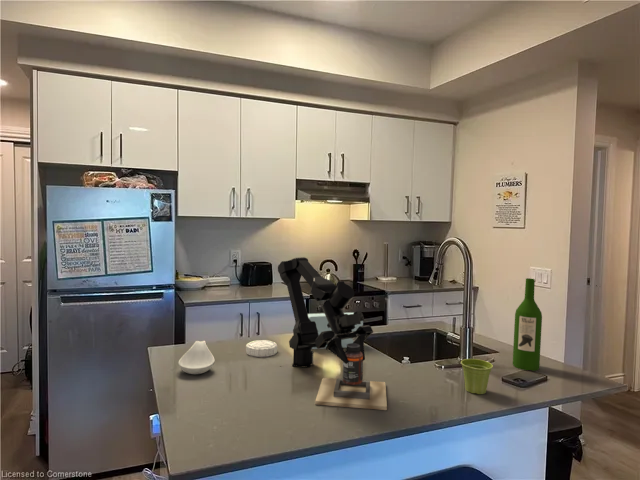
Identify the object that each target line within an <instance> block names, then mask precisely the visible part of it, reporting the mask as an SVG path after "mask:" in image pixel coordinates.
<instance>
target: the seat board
mask: <svg viewBox="0 0 640 480" xmlns="http://www.w3.org/2000/svg"><path fill="white" fill-rule="evenodd" d="M387 400H388V399H387V388H386V382H385V381H375V380H374V381H373V380H365V379H364V380H362V383H361V384H358V385H349V384H346V383H344V382H343V378H331V377H322V379H321V382H320V385H319V387H318V392H317V394H316V398H315V402H314V403H315V405H317V406H318V405H319V406H332V407H342V408H343V407H345V408H356V409H369V410H381V411H387V410H388V405H387V404H388V403H387Z"/></svg>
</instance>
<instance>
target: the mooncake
mask: <svg viewBox="0 0 640 480" xmlns="http://www.w3.org/2000/svg"><path fill="white" fill-rule="evenodd" d="M245 353H246V354H247V355H249V356H251V357H256V358H257V357H258V358H259V357H269V356H270V357H271V356H274V355H276V354H277V353H278V344H277V343H276V342H274V341H271V340H270V339H269V340H268V339H262V340H261V339H260V340H259V339H258V340H257V339H256V340H253V341H250V342H248V343H246V345H245Z"/></svg>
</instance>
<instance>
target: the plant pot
mask: <svg viewBox="0 0 640 480" xmlns="http://www.w3.org/2000/svg"><path fill="white" fill-rule="evenodd" d="M460 364H461V366H462V369H463V378H464V389H465V390H466V391H467V392H468V393H470V394H477V395H484V394H486V393H487V391H488V390H487V389H488V383H489V379H490V374H491V371H492V369H493V367H494V365H493V364H492V363H491V362H489V361H487V360H483V359H478V358H465V359H461V361H460Z"/></svg>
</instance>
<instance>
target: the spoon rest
mask: <svg viewBox="0 0 640 480" xmlns="http://www.w3.org/2000/svg"><path fill="white" fill-rule="evenodd" d="M206 342H207V341H206V340H202V341H199V340H195V342H194V343H193V344H192V346H191V347H190V348H189V349H188V350H187V351H186V352H185V353H184V354H183V355H182V356H181V357H180V359H179V360H178V364H177V365H178V367H179V368H180V370H182V371H183V372H185V374H186V373H187V374H189V375H200V374H204V373H206V372H208V371H210V369H212V367H213V366H214V364H215V361H216V360H215V357H214V355H213V353H212V352H211V350H210V349H209V347H208V345H207V343H206Z"/></svg>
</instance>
